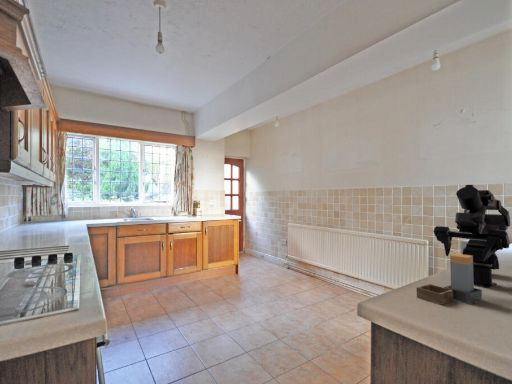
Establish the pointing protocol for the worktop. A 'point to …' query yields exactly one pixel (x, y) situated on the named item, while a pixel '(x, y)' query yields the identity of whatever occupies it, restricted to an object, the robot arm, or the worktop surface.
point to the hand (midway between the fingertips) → (464, 257)
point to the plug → (462, 272)
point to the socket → (467, 295)
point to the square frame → (435, 294)
